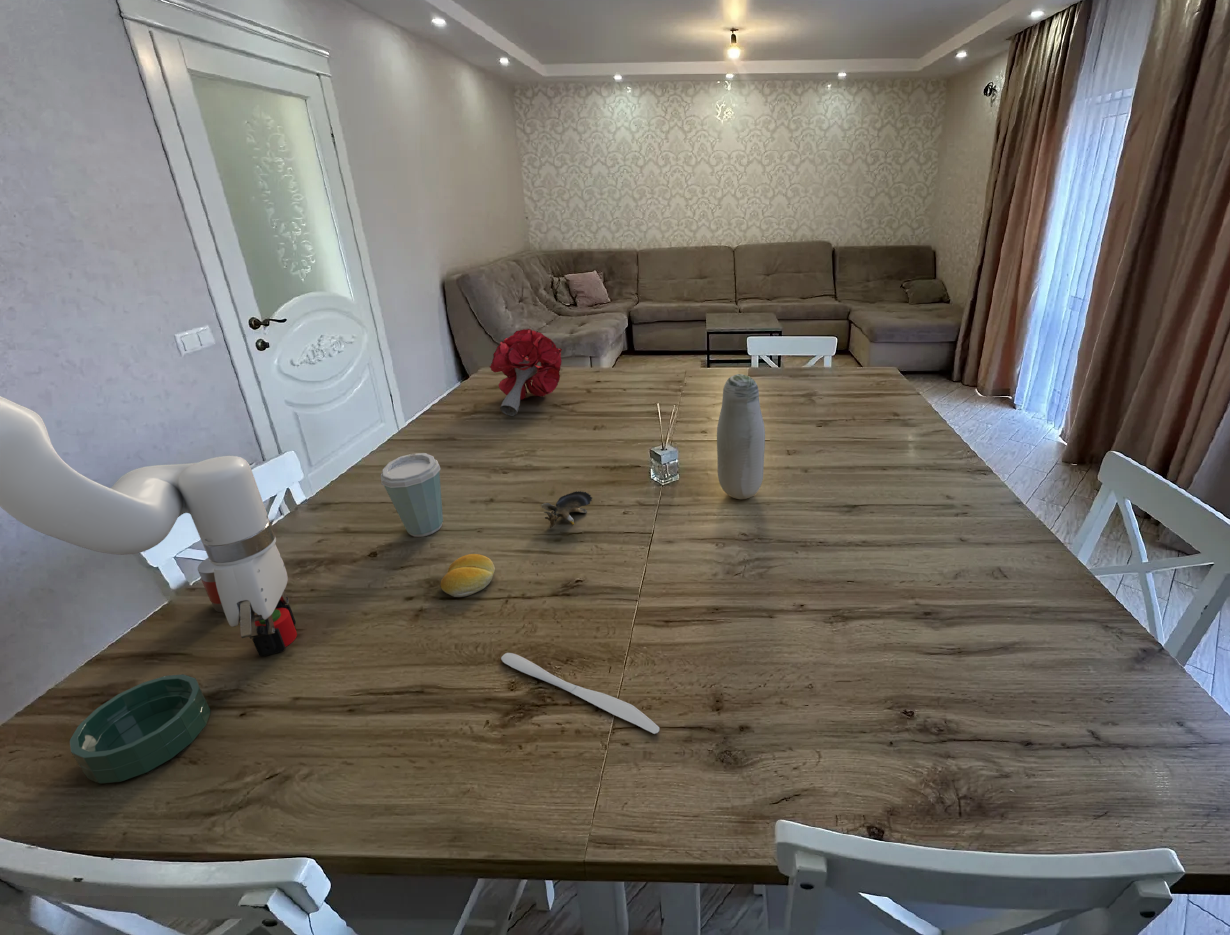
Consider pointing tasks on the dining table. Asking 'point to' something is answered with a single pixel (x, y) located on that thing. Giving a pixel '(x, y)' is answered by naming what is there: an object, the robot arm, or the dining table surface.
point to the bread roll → (468, 575)
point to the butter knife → (584, 693)
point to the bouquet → (526, 367)
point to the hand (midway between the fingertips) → (278, 639)
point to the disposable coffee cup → (415, 492)
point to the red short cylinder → (282, 625)
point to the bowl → (140, 728)
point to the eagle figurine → (567, 506)
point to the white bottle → (740, 438)
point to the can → (210, 583)
